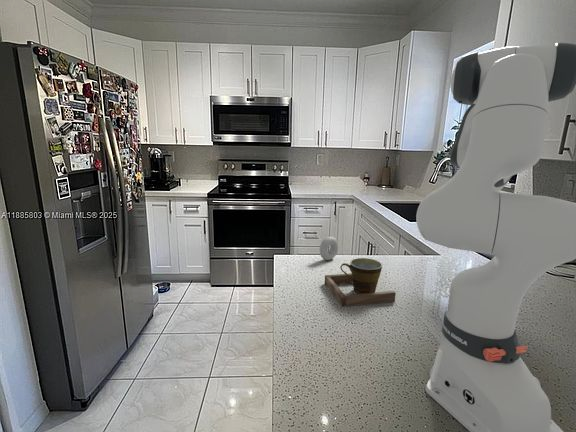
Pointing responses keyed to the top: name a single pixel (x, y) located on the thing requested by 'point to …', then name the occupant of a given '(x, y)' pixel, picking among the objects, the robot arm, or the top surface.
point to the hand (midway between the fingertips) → (443, 227)
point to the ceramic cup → (364, 274)
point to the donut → (324, 248)
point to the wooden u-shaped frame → (355, 298)
